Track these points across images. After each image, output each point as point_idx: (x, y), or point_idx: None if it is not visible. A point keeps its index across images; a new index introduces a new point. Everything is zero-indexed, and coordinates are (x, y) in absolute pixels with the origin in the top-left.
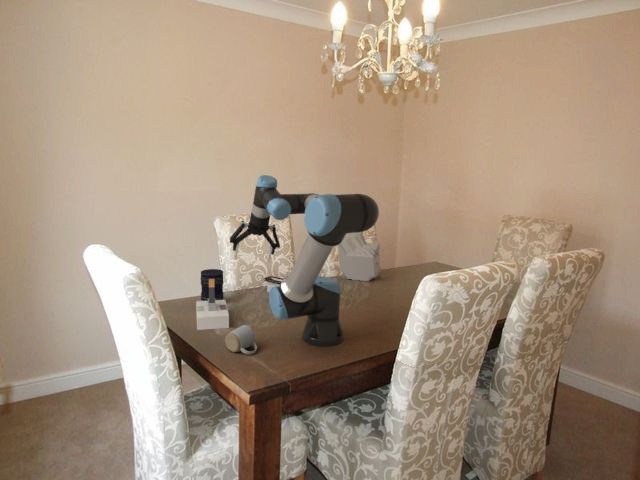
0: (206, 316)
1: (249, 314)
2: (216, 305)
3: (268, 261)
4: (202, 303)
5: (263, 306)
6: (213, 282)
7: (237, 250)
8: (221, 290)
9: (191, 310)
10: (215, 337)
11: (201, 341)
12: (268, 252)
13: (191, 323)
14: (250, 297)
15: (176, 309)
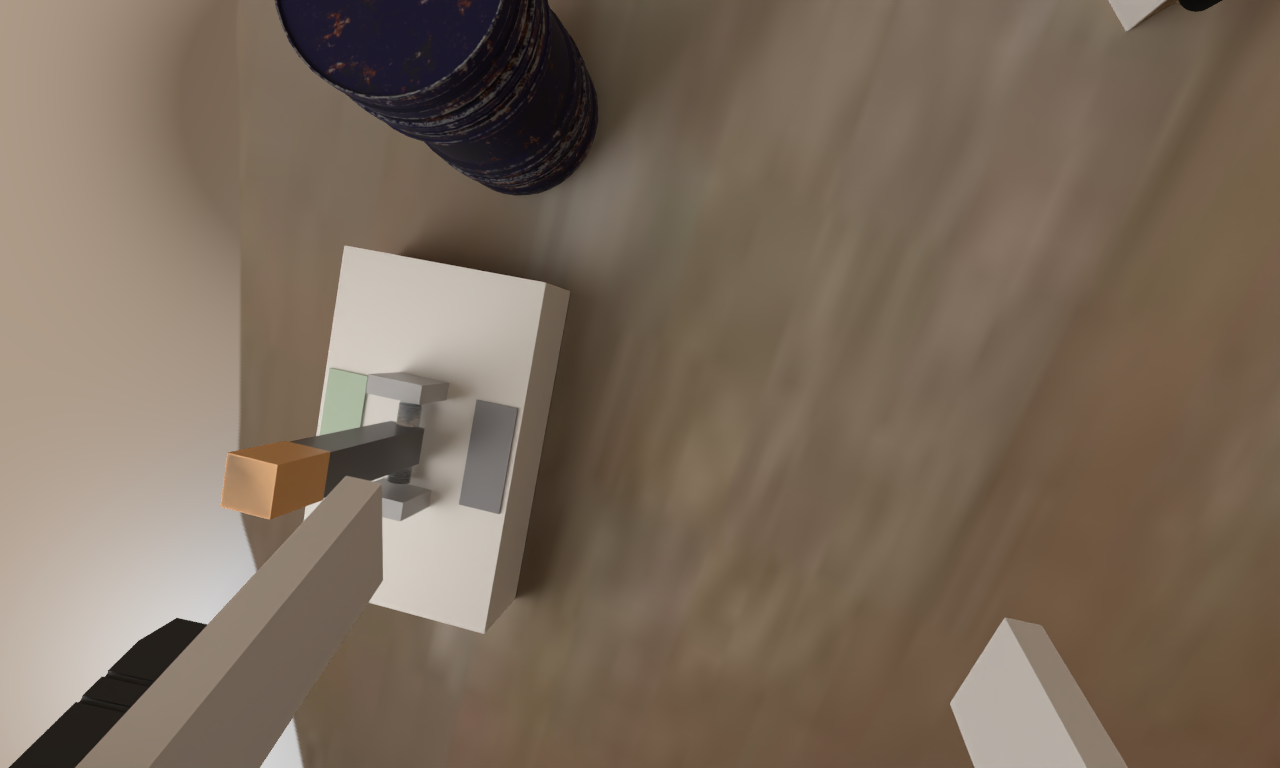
0: None
1: (704, 419)
2: (455, 394)
3: (965, 714)
4: (375, 313)
5: (860, 289)
6: (280, 509)
7: (256, 757)
8: (541, 122)
9: (372, 204)
10: (415, 697)
11: (341, 715)
12: (1078, 765)
13: None
14: (840, 34)
15: (292, 153)
